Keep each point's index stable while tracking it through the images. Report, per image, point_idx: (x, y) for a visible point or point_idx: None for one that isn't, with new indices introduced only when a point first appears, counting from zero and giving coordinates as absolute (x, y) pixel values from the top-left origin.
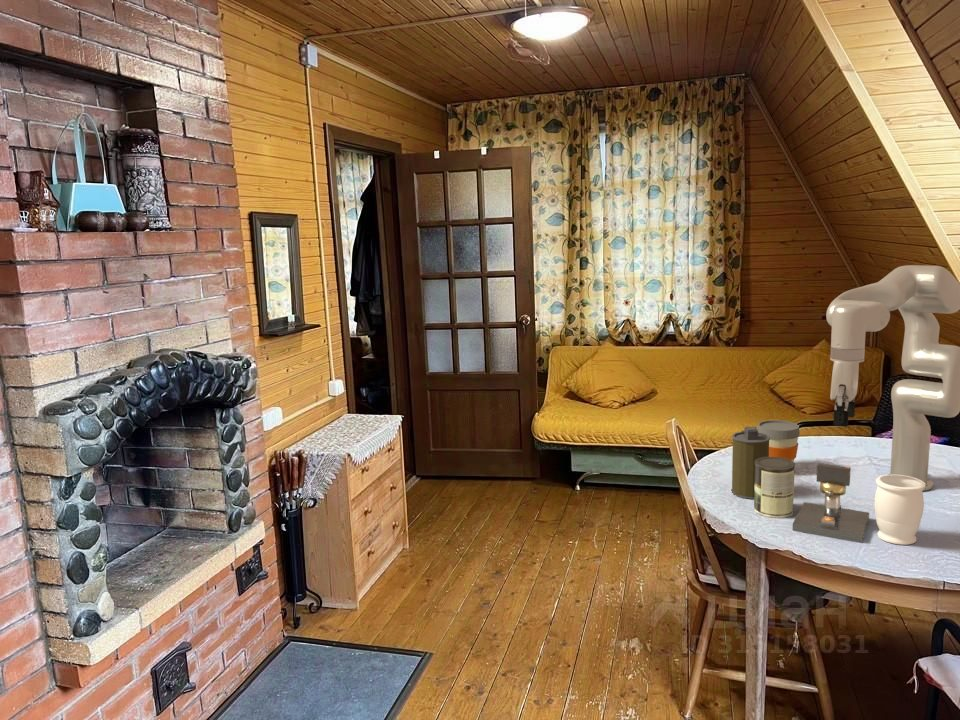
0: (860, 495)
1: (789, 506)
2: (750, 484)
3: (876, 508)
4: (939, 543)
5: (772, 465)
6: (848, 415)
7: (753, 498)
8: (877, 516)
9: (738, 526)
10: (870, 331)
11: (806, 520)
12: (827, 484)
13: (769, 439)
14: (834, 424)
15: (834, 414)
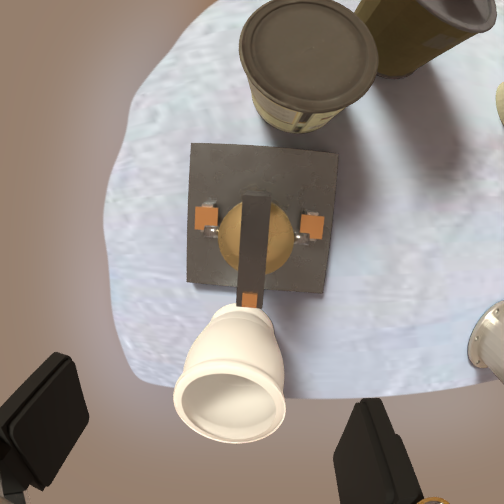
0: (444, 266)
1: (275, 123)
2: None
3: (211, 328)
4: None
5: (279, 43)
6: (342, 442)
7: None
8: (216, 321)
9: (176, 47)
10: None
11: (220, 168)
12: (231, 224)
13: (455, 26)
14: (55, 357)
15: (12, 399)
